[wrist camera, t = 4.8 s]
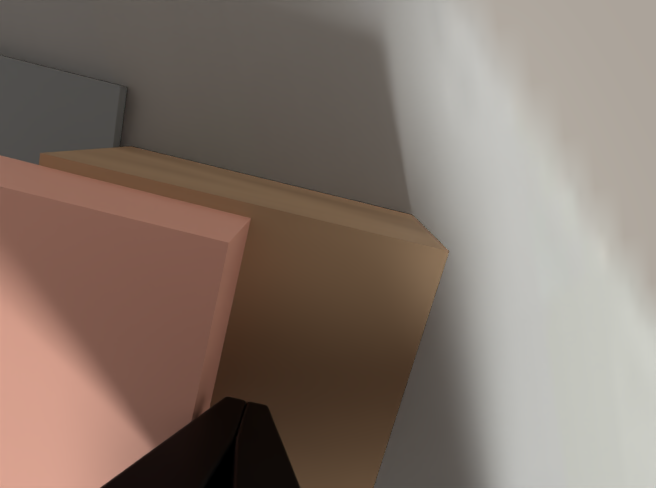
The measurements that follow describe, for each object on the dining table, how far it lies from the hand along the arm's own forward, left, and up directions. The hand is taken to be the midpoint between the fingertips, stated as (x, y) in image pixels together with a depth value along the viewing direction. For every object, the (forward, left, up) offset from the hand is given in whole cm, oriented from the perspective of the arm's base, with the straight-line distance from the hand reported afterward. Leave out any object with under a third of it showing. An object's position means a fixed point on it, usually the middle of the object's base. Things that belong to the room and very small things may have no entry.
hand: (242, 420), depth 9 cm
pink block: (0, +4, -1) cm, 4 cm away
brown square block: (0, +1, -5) cm, 5 cm away
